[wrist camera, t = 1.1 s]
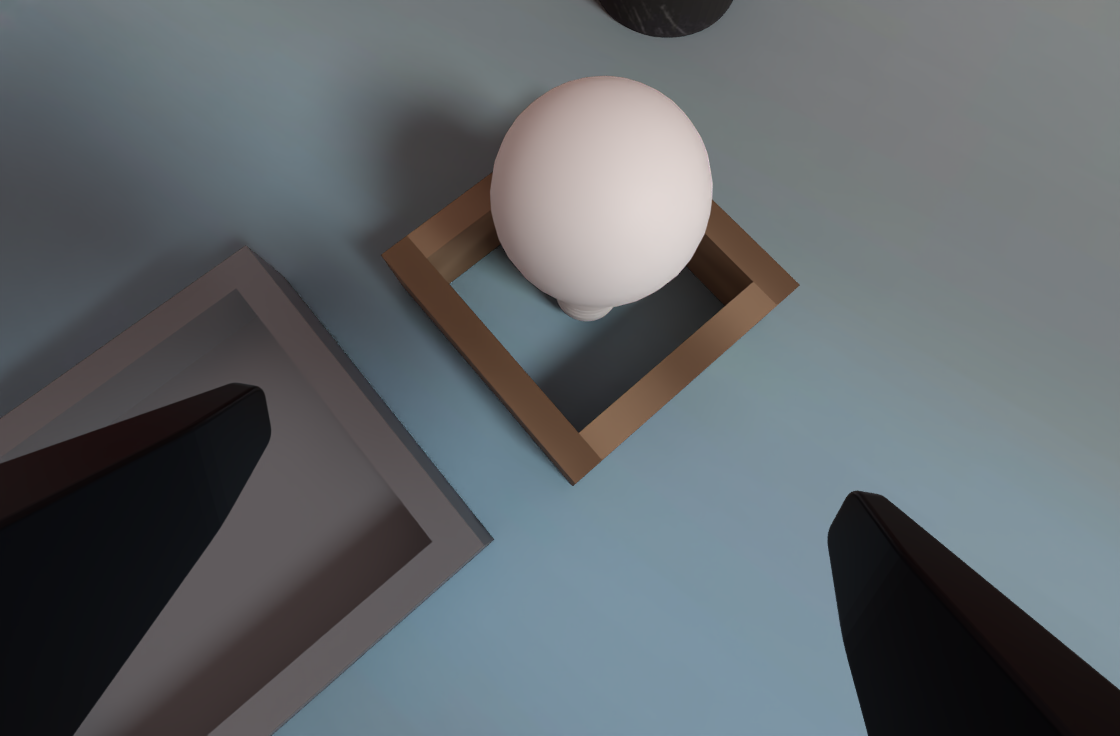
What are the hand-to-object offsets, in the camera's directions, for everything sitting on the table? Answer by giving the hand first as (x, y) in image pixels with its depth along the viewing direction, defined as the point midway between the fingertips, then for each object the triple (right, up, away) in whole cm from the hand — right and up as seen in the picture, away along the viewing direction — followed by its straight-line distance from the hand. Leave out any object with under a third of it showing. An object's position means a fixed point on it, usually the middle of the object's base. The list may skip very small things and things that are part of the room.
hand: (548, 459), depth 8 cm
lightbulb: (+1, +4, +15) cm, 16 cm away
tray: (-13, -5, +12) cm, 19 cm away
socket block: (+1, +4, +15) cm, 15 cm away
